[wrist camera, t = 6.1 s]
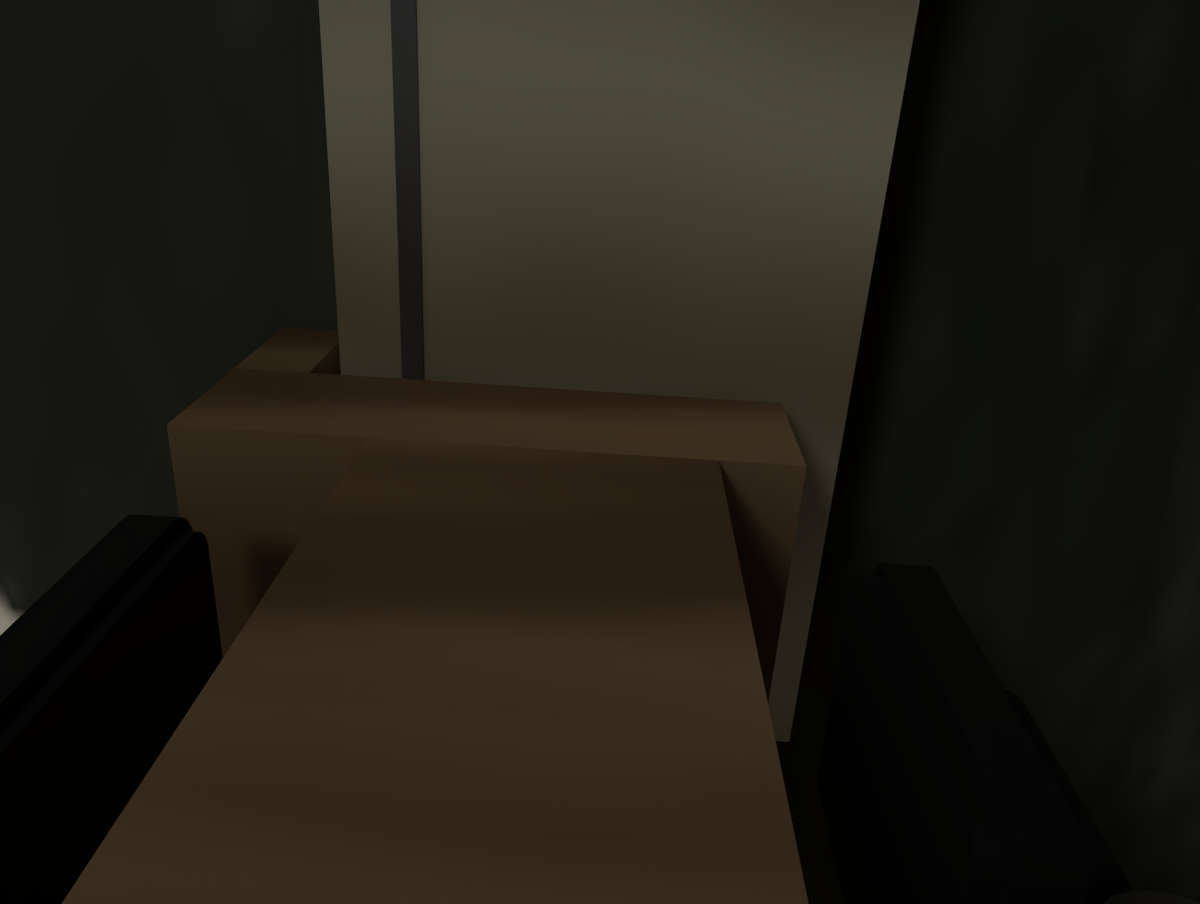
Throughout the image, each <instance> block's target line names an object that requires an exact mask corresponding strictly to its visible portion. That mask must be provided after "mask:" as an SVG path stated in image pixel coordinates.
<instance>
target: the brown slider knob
mask: <svg viewBox="0 0 1200 904" xmlns="http://www.w3.org/2000/svg"><path fill="white" fill-rule="evenodd" d="M167 430H168V437H169V444H170V451H171V458H172V465H173V472H174V479H175V486H176V493H177V500H178V507H179V514H180V517H182V518H185V519H186V520H188V521H189V523H190V525H191V527H192V530H193V531H198V532H202V533H203V534H204V535H205V537H206V539H207V543H208V547H209V555H210V563H211V571H212V578H213V586H214V594H215V601H216V609H217V617H218V624H219V632H220V640H221V647H222V655H223V659H222V660H221V662H220V663H219V665H218V667H217V668H216V670H215V671H214V673H213V674H212V676H211V677H210V679H209V680H208V682H207V683H206V685H205V686H204V688H203V689H202V691H201V692H200V694H199V695H198V697H197V698H196V700H195V702H194V703H193V705H192V706H191V708H190V709H189V711H188V712H187V714H186V715H185V717H184V718H183V720H182V721H181V723H180V724H179V726H178V727H177V729H176V730H175V732H174V733H173V735H172V737H171V738H170V740H169V741H168V743H167V744H166V746H165V747H164V749H163V750H162V752H161V753H160V755H159V756H158V758H157V759H156V761H155V762H154V764H153V765H152V767H151V768H150V770H149V772H148V773H147V775H146V776H145V778H144V779H143V781H142V782H141V784H140V785H139V787H138V788H137V790H136V791H135V793H134V794H133V796H132V797H131V799H130V800H129V802H128V803H127V805H126V807H125V808H124V810H123V811H122V813H121V814H120V816H119V817H118V819H117V820H116V822H115V823H114V825H113V826H112V828H111V829H110V831H109V832H108V834H107V835H106V837H105V838H104V840H103V842H102V843H101V845H100V846H99V848H98V849H97V851H96V852H95V854H94V855H93V857H92V858H91V860H90V861H89V863H88V864H87V866H86V867H85V869H84V870H83V872H82V873H81V875H80V877H79V878H78V880H77V881H76V883H75V884H74V886H73V887H72V889H71V890H70V892H69V893H68V895H67V896H66V898H65V899H64V901H63V902H62V904H809V903H808V898H807V893H806V888H805V884H804V879H803V874H802V869H801V864H800V859H799V854H798V849H797V844H796V839H795V834H794V829H793V824H792V819H791V815H790V810H789V805H788V800H787V795H786V790H785V785H784V780H783V775H782V770H781V765H780V760H779V755H778V750H777V746H776V741H775V736H774V731H773V726H772V721H771V716H770V711H769V706H768V702H769V696H770V690H771V684H772V677H773V671H774V665H775V659H776V653H777V646H778V640H779V634H780V628H781V622H782V615H783V609H784V603H785V597H786V591H787V584H788V578H789V572H790V566H791V560H792V553H793V547H794V541H795V535H796V529H797V522H798V516H799V510H800V504H801V498H802V491H803V485H804V479H805V473H806V467H807V466H806V463H805V461H804V458H803V456H802V454H801V451H800V449H799V446H798V444H797V441H796V439H795V436H794V434H793V431H792V429H791V426H790V424H789V421H788V419H787V416H786V414H785V411H784V409H783V407H782V404H781V403H773V402H757V401H742V400H726V399H711V398H695V397H680V396H664V395H648V394H633V393H617V392H602V391H586V390H571V389H555V388H539V387H524V386H508V385H493V384H477V383H462V382H446V381H430V380H415V379H399V378H384V377H368V376H353V375H341V369H340V352H339V335H338V331H331V330H316V329H300V328H284V327H283V328H282V329H281V330H279V331H278V332H277V333H276V334H275V335H273V336H272V337H271V338H270V339H269V340H267V341H266V342H265V343H264V344H263V345H261V346H260V347H259V348H258V349H257V350H256V351H254V352H253V353H252V354H251V355H250V356H248V357H247V358H246V359H245V360H244V361H242V362H241V363H240V364H239V365H238V366H236V367H235V368H234V369H233V370H232V371H230V372H229V373H228V374H227V375H226V376H224V377H223V378H222V379H221V380H220V381H218V382H217V383H216V384H215V385H214V386H212V387H211V388H210V389H209V390H208V391H207V392H205V393H204V394H203V395H202V396H201V397H199V398H198V399H197V400H196V401H195V402H193V403H192V404H191V405H190V406H189V407H187V408H186V409H185V410H184V411H183V412H181V413H180V414H179V415H178V416H177V417H175V418H174V419H173V420H172V421H171V422H169V423H168V424H167Z"/></svg>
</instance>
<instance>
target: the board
mask: <svg viewBox="0 0 1200 904" xmlns="http://www.w3.org/2000/svg"><path fill="white" fill-rule="evenodd" d="M919 2H920V0H319V13H320V30H321V47H322V64H323V81H324V98H325V115H326V132H327V149H328V166H329V182H330V199H331V216H332V233H333V250H334V267H335V284H336V301H337V318H338V335H339V352H340V369H341V375H353V376H368V377H384V378H399V379H415V380H430V381H446V382H462V383H477V384H493V385H508V386H524V387H539V388H555V389H571V390H586V391H602V392H617V393H633V394H648V395H664V396H680V397H695V398H711V399H726V400H742V401H757V402H773V403H781V404H782V407H783V409H784V411H785V414H786V416H787V419H788V421H789V424H790V426H791V429H792V431H793V434H794V436H795V439H796V441H797V444H798V446H799V449H800V451H801V454H802V456H803V458H804V461H805V463H806V466H807V467H806V473H805V479H804V485H803V491H802V498H801V504H800V510H799V516H798V522H797V529H796V535H795V541H794V547H793V553H792V560H791V566H790V572H789V578H788V584H787V591H786V597H785V603H784V609H783V615H782V622H781V628H780V634H779V640H778V646H777V653H776V659H775V665H774V671H773V677H772V684H771V690H770V696H769V702H768V706H769V711H770V716H771V721H772V726H773V731H774V736H775V741H783V742H789V740H790V734H791V728H792V723H793V717H794V711H795V706H796V700H797V694H798V689H799V683H800V677H801V671H802V666H803V660H804V654H805V649H806V643H807V637H808V632H809V626H810V620H811V615H812V609H813V603H814V598H815V592H816V586H817V581H818V575H819V569H820V564H821V558H822V552H823V547H824V541H825V535H826V530H827V524H828V518H829V513H830V507H831V501H832V496H833V490H834V484H835V479H836V473H837V467H838V462H839V456H840V450H841V445H842V439H843V433H844V428H845V422H846V416H847V411H848V405H849V399H850V394H851V388H852V382H853V377H854V371H855V365H856V360H857V354H858V348H859V343H860V337H861V331H862V326H863V320H864V314H865V309H866V303H867V297H868V292H869V286H870V280H871V275H872V269H873V263H874V258H875V252H876V246H877V241H878V235H879V229H880V224H881V218H882V212H883V206H884V201H885V195H886V189H887V184H888V178H889V172H890V167H891V161H892V155H893V150H894V144H895V138H896V133H897V127H898V121H899V116H900V110H901V104H902V99H903V93H904V87H905V82H906V76H907V70H908V65H909V59H910V53H911V48H912V42H913V36H914V31H915V25H916V19H917V14H918V8H919Z"/></svg>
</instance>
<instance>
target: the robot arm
mask: <svg viewBox="0 0 1200 904" xmlns="http://www.w3.org/2000/svg"><path fill="white" fill-rule="evenodd" d="M222 659H223V655H222V647H221V640H220V632H219V624H218V617H217V609H216V601H215V594H214V586H213V578H212V571H211V563H210V555H209V547H208V543H207V539H206V537H205V535H204V534H203V533H202V532H198V531H193V530H192V527H191V525H190V523H189V521H188V520H186V519H185V518H182V517H167V516H152V515H136V514H135V515H128V516H127V517H125V518H124V519H123V520H122V521H120V522H119V523H118V524H117V525H116V526H115V527H114V528H113V529H112V530H111V531H110V532H109V533H108V534H107V535H106V536H105V537H104V538H103V539H102V540H100V541H99V542H98V543H97V544H96V545H95V546H94V547H93V548H92V549H91V550H90V551H89V552H88V553H87V554H86V555H85V556H84V557H83V558H82V559H80V560H79V561H78V562H77V563H76V564H75V565H74V566H73V567H72V568H71V569H70V570H69V571H68V572H67V573H66V574H65V575H64V576H63V577H62V578H60V579H59V580H58V581H57V582H56V583H55V584H54V585H53V586H52V587H51V588H50V589H49V590H48V591H47V592H46V593H45V594H44V595H43V596H42V597H40V598H39V599H38V600H37V601H36V602H35V603H34V604H33V605H32V606H31V607H30V608H29V609H28V610H27V611H26V612H25V613H24V614H23V615H22V616H20V617H19V618H18V619H17V620H16V621H15V622H14V623H13V624H12V625H11V626H10V627H9V628H8V629H7V630H6V631H5V632H4V633H3V634H2V635H1V636H0V904H62V902H63V901H64V899H65V898H66V896H67V895H68V893H69V892H70V890H71V889H72V887H73V886H74V884H75V883H76V881H77V880H78V878H79V877H80V875H81V873H82V872H83V870H84V869H85V867H86V866H87V864H88V863H89V861H90V860H91V858H92V857H93V855H94V854H95V852H96V851H97V849H98V848H99V846H100V845H101V843H102V842H103V840H104V838H105V837H106V835H107V834H108V832H109V831H110V829H111V828H112V826H113V825H114V823H115V822H116V820H117V819H118V817H119V816H120V814H121V813H122V811H123V810H124V808H125V807H126V805H127V803H128V802H129V800H130V799H131V797H132V796H133V794H134V793H135V791H136V790H137V788H138V787H139V785H140V784H141V782H142V781H143V779H144V778H145V776H146V775H147V773H148V772H149V770H150V768H151V767H152V765H153V764H154V762H155V761H156V759H157V758H158V756H159V755H160V753H161V752H162V750H163V749H164V747H165V746H166V744H167V743H168V741H169V740H170V738H171V737H172V735H173V733H174V732H175V730H176V729H177V727H178V726H179V724H180V723H181V721H182V720H183V718H184V717H185V715H186V714H187V712H188V711H189V709H190V708H191V706H192V705H193V703H194V702H195V700H196V698H197V697H198V695H199V694H200V692H201V691H202V689H203V688H204V686H205V685H206V683H207V682H208V680H209V679H210V677H211V676H212V674H213V673H214V671H215V670H216V668H217V667H218V665H219V663H220V662H221V660H222ZM819 794H820V800H821V804H822V808H823V812H824V816H825V820H826V824H827V828H828V833H829V837H830V841H831V845H832V849H833V853H834V857H835V861H836V865H837V869H838V873H839V877H840V881H841V885H842V889H843V894H844V898H845V902H846V904H1200V903H1198V902H1196V901H1193V900H1190V899H1186V898H1183V897H1180V896H1176V895H1173V894H1169V893H1166V892H1158V891H1144V890H1133V889H1132V887H1131V885H1130V884H1129V882H1128V880H1127V878H1126V877H1125V875H1124V873H1123V872H1122V870H1121V868H1120V866H1119V865H1118V863H1117V861H1116V860H1115V858H1114V856H1113V855H1112V853H1111V851H1110V849H1109V848H1108V846H1107V844H1106V843H1105V841H1104V839H1103V837H1102V836H1101V834H1100V832H1099V831H1098V829H1097V827H1096V826H1095V824H1094V822H1093V820H1092V819H1091V817H1090V815H1089V814H1088V812H1087V810H1086V808H1085V807H1084V805H1083V803H1082V802H1081V800H1080V798H1079V797H1078V795H1077V793H1076V791H1075V790H1074V788H1073V786H1072V785H1071V783H1070V781H1069V779H1068V778H1067V776H1066V774H1065V773H1064V771H1063V769H1062V767H1061V766H1060V764H1059V762H1058V761H1057V759H1056V757H1055V756H1054V754H1053V752H1052V750H1051V749H1050V747H1049V745H1048V744H1047V742H1046V740H1045V738H1044V737H1043V735H1042V733H1041V732H1040V730H1039V728H1038V727H1037V725H1036V723H1035V721H1034V720H1033V718H1032V716H1031V715H1030V713H1029V711H1028V709H1027V708H1026V706H1025V704H1024V703H1023V702H1022V701H1021V699H1020V698H1019V697H1018V696H1017V695H1016V694H1014V693H1012V692H1010V691H1005V690H1003V688H1002V687H1001V685H1000V683H999V681H998V680H997V678H996V676H995V674H994V673H993V671H992V669H991V667H990V665H989V664H988V662H987V660H986V658H985V657H984V655H983V653H982V651H981V650H980V648H979V646H978V644H977V643H976V641H975V639H974V637H973V635H972V634H971V632H970V630H969V628H968V627H967V625H966V623H965V621H964V620H963V618H962V616H961V614H960V613H959V611H958V609H957V607H956V605H955V604H954V602H953V600H952V598H951V597H950V595H949V593H948V591H947V590H946V588H945V586H944V584H943V583H942V581H941V579H940V577H939V575H938V574H937V572H936V571H935V569H934V568H933V567H930V566H919V565H903V564H888V563H879V564H878V565H877V566H876V567H875V569H874V571H873V574H872V575H860V576H858V578H857V580H856V582H855V586H854V590H853V596H852V601H851V606H850V611H849V616H848V621H847V626H846V631H845V636H844V642H843V647H842V652H841V657H840V662H839V667H838V672H837V677H836V683H835V688H834V693H833V698H832V703H831V708H830V713H829V718H828V723H827V729H826V734H825V739H824V744H823V749H822V754H821V759H820V765H819Z"/></svg>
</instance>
